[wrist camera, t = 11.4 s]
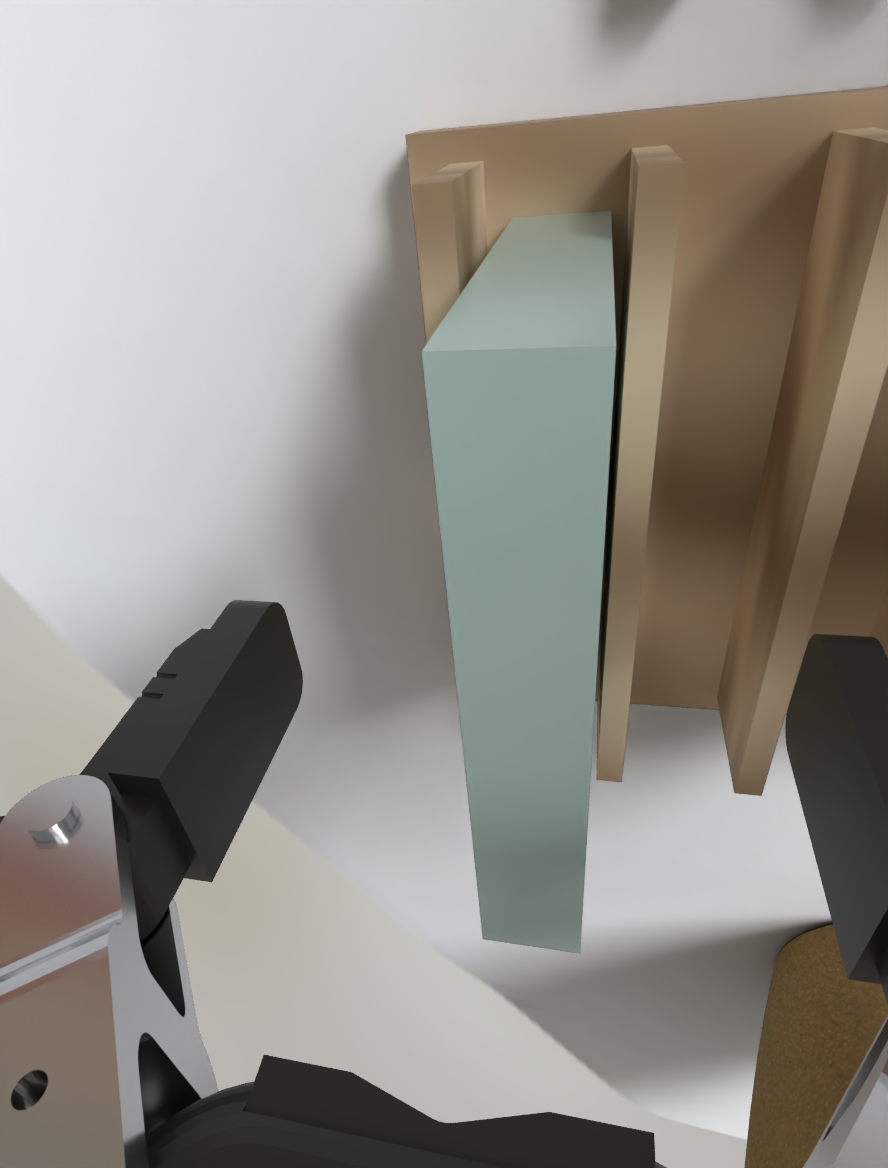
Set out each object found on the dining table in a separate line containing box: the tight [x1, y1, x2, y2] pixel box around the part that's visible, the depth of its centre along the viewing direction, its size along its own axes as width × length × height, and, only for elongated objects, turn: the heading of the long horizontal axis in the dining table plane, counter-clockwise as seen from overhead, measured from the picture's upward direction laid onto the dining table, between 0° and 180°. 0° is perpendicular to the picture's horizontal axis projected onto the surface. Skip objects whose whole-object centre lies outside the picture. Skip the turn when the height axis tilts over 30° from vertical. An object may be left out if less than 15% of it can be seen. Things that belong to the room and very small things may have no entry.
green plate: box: [422, 211, 616, 953], centre depth 13 cm, size 11×2×8 cm, turn 5°
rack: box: [406, 86, 888, 796], centre depth 14 cm, size 14×15×4 cm
